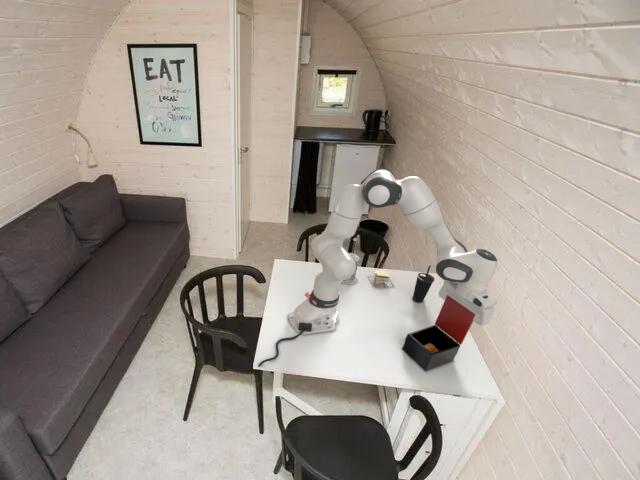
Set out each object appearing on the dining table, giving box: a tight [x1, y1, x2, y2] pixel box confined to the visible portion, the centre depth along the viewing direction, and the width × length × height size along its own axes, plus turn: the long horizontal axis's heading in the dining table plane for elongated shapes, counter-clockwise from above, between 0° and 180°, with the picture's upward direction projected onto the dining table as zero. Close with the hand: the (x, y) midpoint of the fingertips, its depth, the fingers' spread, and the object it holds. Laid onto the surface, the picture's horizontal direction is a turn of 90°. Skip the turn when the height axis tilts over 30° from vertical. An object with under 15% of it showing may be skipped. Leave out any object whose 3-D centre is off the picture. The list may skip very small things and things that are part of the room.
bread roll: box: [423, 343, 439, 354], centre depth 143 cm, size 8×4×4 cm, turn 112°
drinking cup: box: [412, 265, 435, 304], centre depth 170 cm, size 8×8×20 cm
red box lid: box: [434, 295, 476, 346], centre depth 138 cm, size 15×13×1 cm
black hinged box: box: [401, 324, 462, 372], centre depth 143 cm, size 15×13×9 cm
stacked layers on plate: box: [368, 269, 394, 288], centre depth 187 cm, size 10×9×6 cm
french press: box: [341, 237, 360, 285], centre depth 183 cm, size 10×12×25 cm
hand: (457, 318), depth 139 cm, fingers closed
